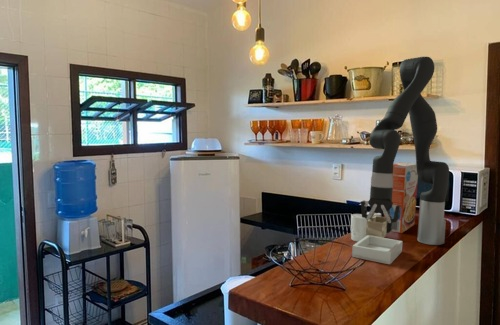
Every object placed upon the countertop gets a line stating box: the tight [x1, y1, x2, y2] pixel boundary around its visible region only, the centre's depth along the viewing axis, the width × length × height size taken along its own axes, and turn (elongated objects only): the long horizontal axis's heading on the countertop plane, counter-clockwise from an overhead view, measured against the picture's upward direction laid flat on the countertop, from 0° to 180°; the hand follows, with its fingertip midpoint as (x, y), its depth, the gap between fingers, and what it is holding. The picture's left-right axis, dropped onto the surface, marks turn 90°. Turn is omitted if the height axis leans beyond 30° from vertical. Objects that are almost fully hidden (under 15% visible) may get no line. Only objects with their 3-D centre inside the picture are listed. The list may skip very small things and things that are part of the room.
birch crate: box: [366, 216, 390, 238], centre depth 141 cm, size 11×6×5 cm, turn 147°
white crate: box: [351, 235, 403, 265], centre depth 142 cm, size 18×13×4 cm
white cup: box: [350, 213, 367, 243], centre depth 160 cm, size 8×8×10 cm
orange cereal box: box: [383, 162, 419, 234], centre depth 184 cm, size 23×8×30 cm, turn 144°
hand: (378, 231), depth 141 cm, fingers closed on birch crate, 6 cm apart
